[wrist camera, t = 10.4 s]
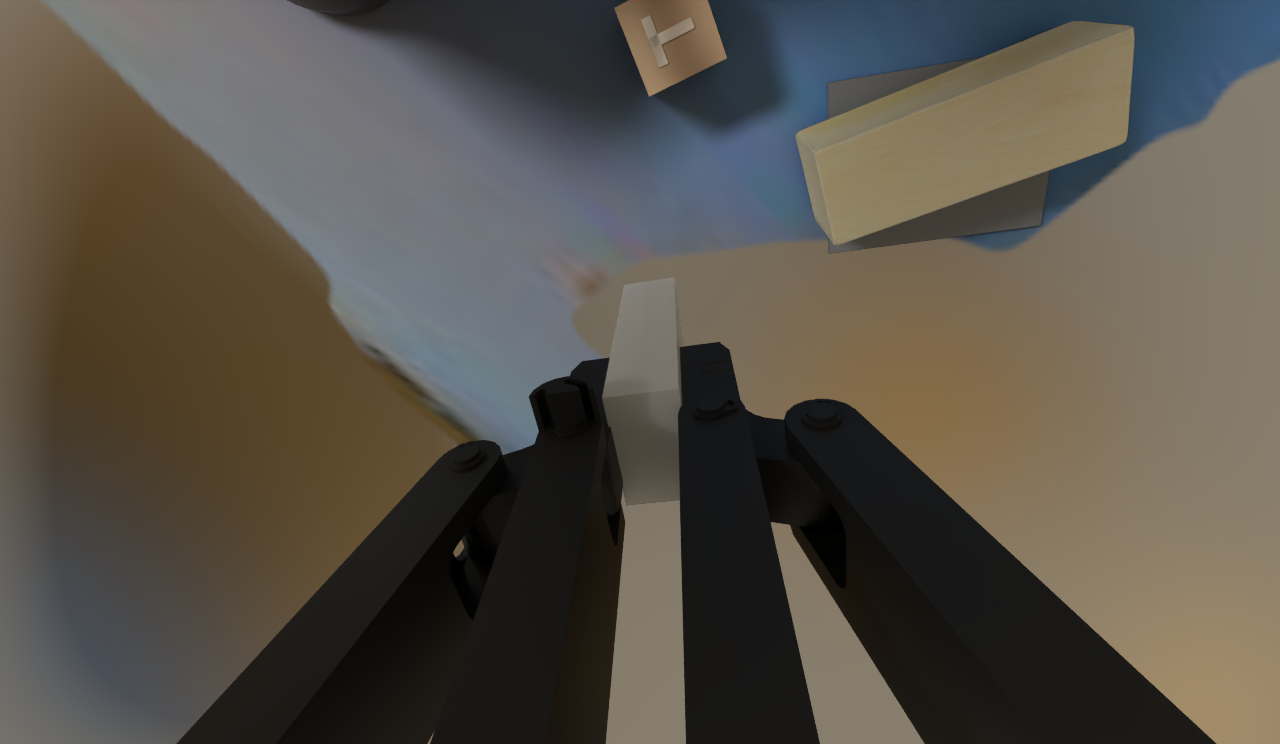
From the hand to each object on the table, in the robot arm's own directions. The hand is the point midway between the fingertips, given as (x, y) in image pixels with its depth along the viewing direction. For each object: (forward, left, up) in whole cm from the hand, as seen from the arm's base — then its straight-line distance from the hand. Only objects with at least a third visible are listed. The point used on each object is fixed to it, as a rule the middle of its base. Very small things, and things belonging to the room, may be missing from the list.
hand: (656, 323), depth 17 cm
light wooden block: (+11, -3, -32) cm, 35 cm away
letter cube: (+2, +9, -36) cm, 37 cm away
